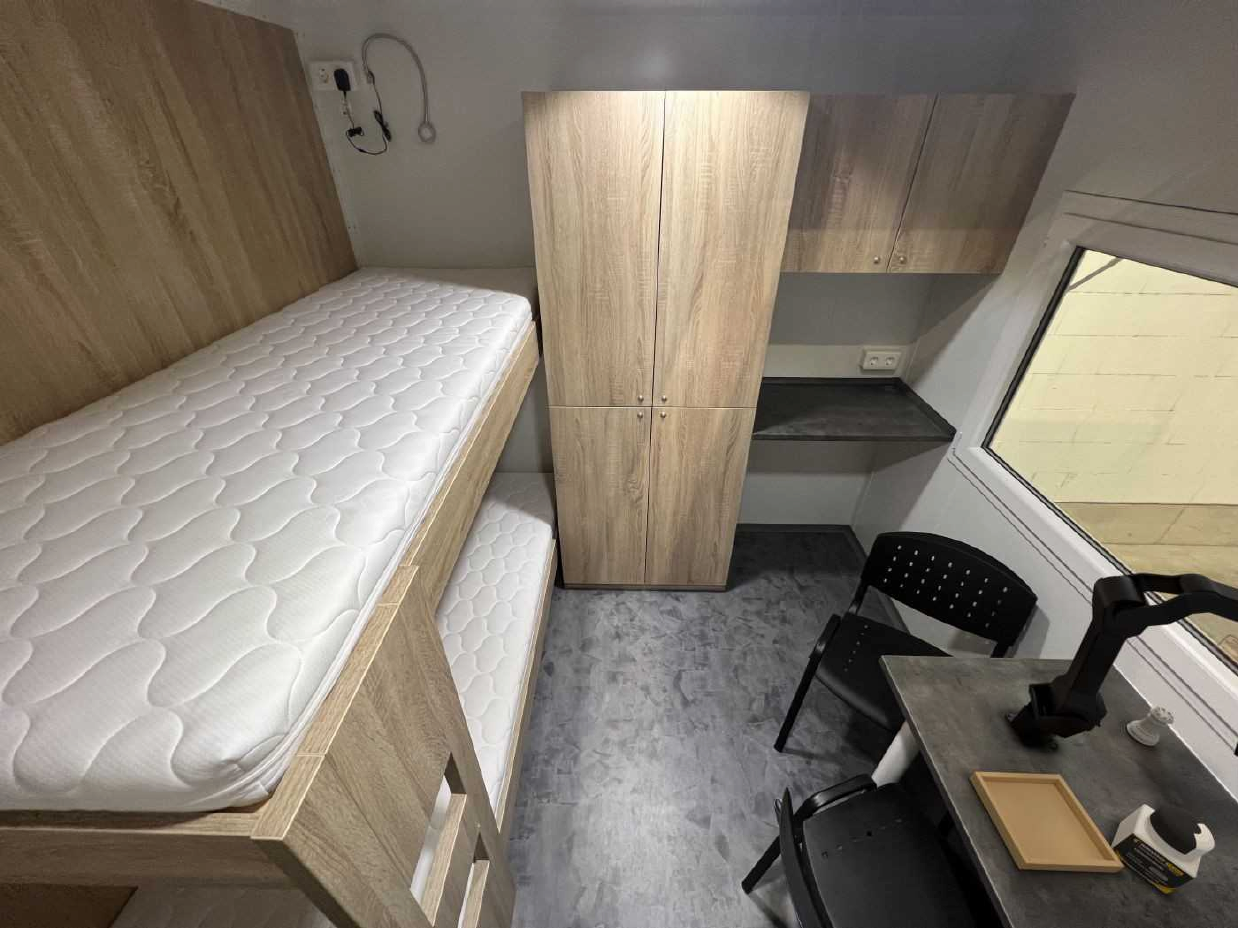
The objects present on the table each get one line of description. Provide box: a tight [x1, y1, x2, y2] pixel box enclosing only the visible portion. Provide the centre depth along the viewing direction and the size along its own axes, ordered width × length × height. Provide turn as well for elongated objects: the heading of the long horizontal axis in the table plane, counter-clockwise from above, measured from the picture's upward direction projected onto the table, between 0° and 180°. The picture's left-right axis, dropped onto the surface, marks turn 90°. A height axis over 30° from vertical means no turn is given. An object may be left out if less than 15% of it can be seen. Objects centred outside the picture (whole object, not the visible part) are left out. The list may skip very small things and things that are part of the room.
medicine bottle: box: [1110, 803, 1216, 895], centre depth 76 cm, size 7×7×12 cm
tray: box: [969, 771, 1125, 874], centre depth 83 cm, size 16×14×2 cm
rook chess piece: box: [1126, 706, 1175, 747], centre depth 95 cm, size 4×4×8 cm
